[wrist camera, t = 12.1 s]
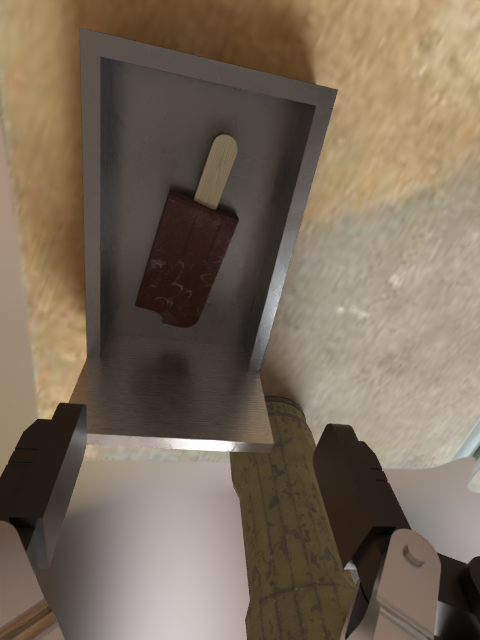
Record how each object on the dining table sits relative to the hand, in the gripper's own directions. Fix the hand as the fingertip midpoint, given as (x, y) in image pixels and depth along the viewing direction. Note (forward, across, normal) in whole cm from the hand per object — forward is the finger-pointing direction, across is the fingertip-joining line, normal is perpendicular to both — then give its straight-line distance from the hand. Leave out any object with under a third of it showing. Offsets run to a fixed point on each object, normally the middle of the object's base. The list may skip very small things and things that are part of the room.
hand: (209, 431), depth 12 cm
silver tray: (+20, +1, 0) cm, 20 cm away
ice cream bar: (+19, +1, 0) cm, 19 cm away
